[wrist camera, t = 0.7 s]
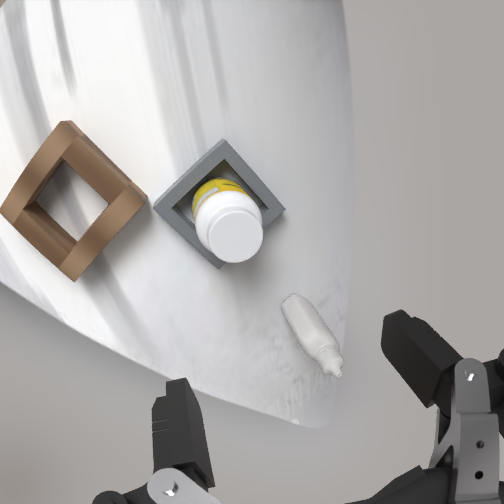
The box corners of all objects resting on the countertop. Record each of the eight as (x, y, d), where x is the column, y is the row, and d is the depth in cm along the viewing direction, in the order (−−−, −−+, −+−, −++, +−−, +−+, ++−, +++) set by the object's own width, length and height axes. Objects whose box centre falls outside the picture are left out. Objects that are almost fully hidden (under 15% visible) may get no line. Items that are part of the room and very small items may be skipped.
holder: (222, 138, 28) (225, 140, 27) (279, 203, 33) (285, 209, 31) (154, 202, 29) (152, 208, 28) (215, 260, 34) (218, 269, 32)
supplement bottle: (255, 203, 32) (287, 239, 23) (216, 238, 33) (232, 286, 24) (220, 164, 29) (240, 186, 21) (179, 202, 30) (181, 239, 21)
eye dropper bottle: (286, 331, 40) (321, 399, 29) (278, 297, 37) (316, 366, 27) (316, 319, 40) (358, 383, 30) (311, 285, 38) (359, 348, 27)
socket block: (71, 120, 24) (60, 121, 21) (147, 195, 29) (144, 204, 26) (11, 202, 25) (-2, 211, 23) (81, 268, 30) (74, 282, 28)
